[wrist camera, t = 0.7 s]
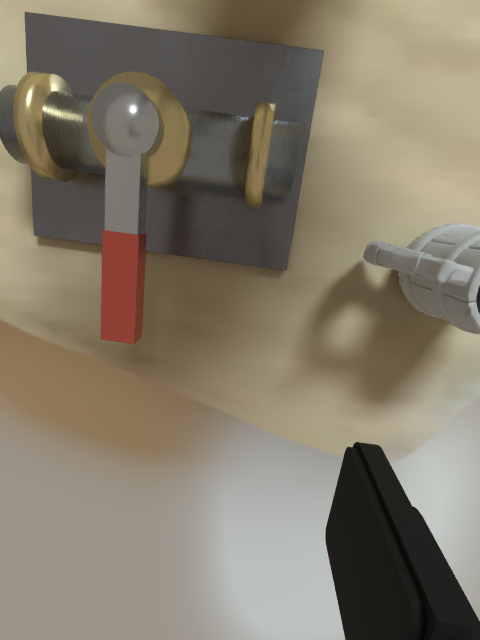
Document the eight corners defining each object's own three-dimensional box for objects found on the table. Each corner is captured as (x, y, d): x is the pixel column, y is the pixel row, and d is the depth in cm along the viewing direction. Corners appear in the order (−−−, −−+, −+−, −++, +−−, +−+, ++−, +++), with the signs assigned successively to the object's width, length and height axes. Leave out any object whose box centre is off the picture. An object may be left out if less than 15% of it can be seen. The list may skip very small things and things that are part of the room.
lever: (104, 89, 20) (91, 78, 18) (166, 97, 20) (158, 86, 18) (101, 330, 24) (90, 337, 22) (151, 337, 24) (144, 345, 22)
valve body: (31, 18, 26) (-59, -62, 18) (321, 55, 25) (347, -11, 18) (39, 234, 30) (-30, 239, 23) (285, 268, 30) (294, 284, 23)
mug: (463, 321, 30) (587, 383, 19) (335, 288, 30) (383, 330, 19) (502, 236, 28) (670, 247, 17) (366, 200, 28) (440, 186, 17)
